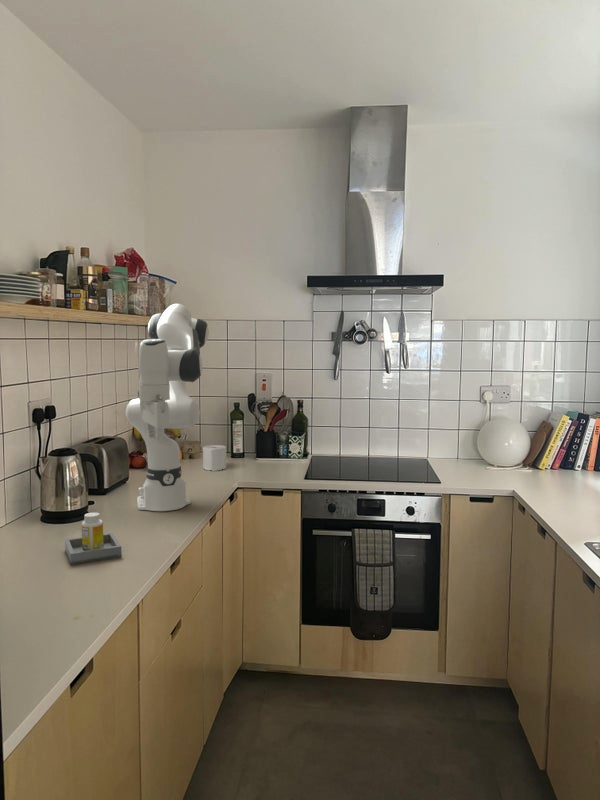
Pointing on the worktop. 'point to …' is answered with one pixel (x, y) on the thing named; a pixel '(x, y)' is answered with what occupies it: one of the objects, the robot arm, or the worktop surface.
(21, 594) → the worktop surface
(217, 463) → the toilet tissue
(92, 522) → the supplement bottle
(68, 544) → the tray
